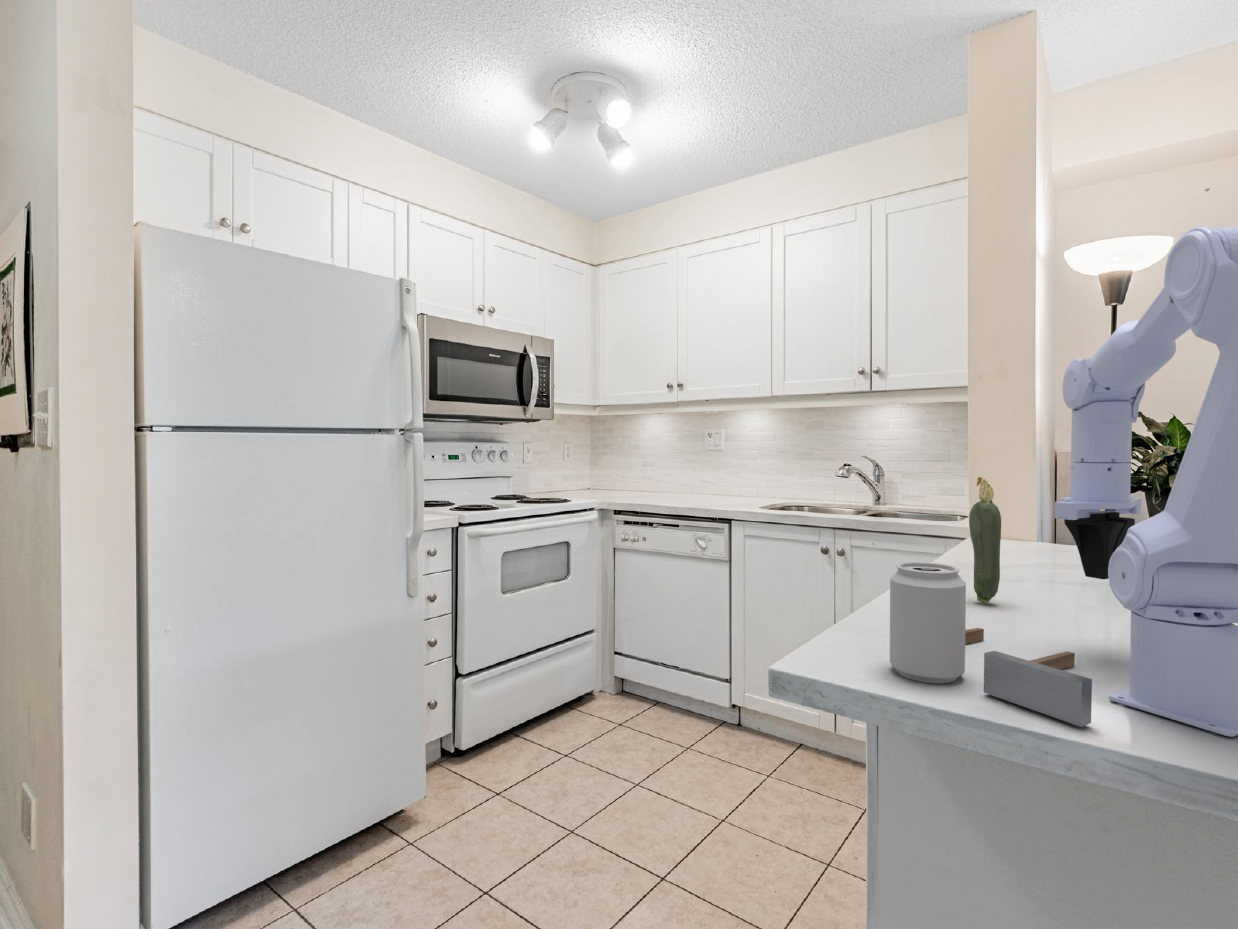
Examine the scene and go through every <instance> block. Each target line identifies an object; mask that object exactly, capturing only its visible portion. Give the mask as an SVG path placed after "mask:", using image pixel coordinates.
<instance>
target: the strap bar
mask: <svg viewBox="0 0 1238 929" xmlns="http://www.w3.org/2000/svg"><path fill="white" fill-rule="evenodd" d="M983 655H984V658H983V693H984V694H987V695H989V696H993V697H995V698H998V699H1001V700H1004V701H1006V702H1010V703H1012V704H1016V705H1018V706H1020V707H1024V708H1027V709H1029V710H1031V711H1035V712H1038V713H1040V714H1043V715H1046V716H1048V717H1052V718H1055V719H1058V720H1060V721H1064V722H1066V723H1069V724H1072V725H1074V726H1078V727H1080V728H1082V727H1084V726H1087V725H1090V724H1092V705H1093V704H1092V699H1093V679H1092V678H1090V677H1087V676H1083V675H1079V674H1076V673H1073V672H1069V671H1066V670H1064V669H1062V670H1059V669H1056V668H1052V667H1049V666H1046V665H1042V664H1039V663H1035V662H1032V661H1030V660H1028V659H1024V658H1020V657H1018V656H1014V655H1011V654H1007V653H1004V652H1000V651H997V650H991V651H987V652H984V653H983Z"/></svg>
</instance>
